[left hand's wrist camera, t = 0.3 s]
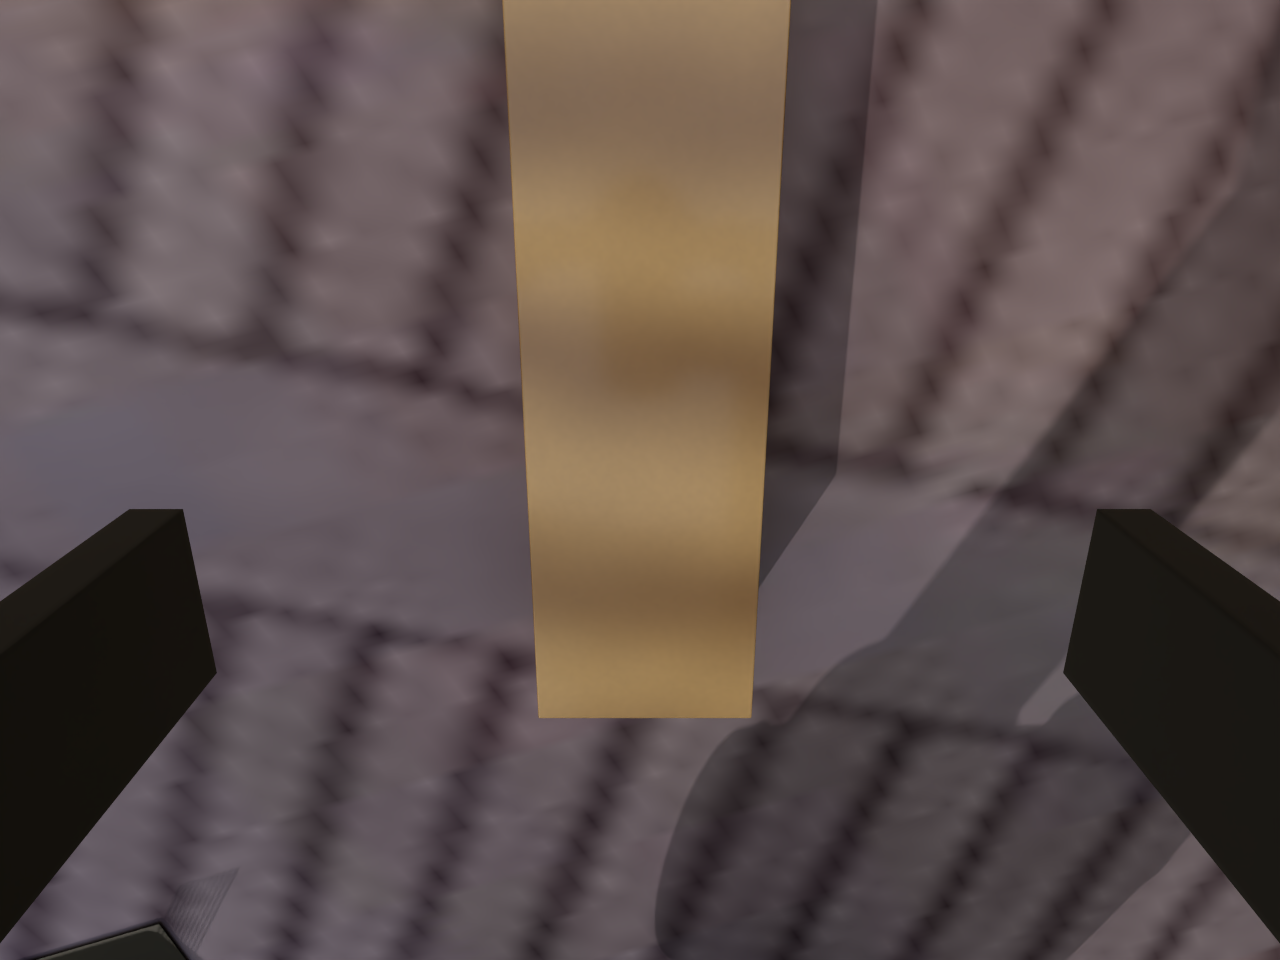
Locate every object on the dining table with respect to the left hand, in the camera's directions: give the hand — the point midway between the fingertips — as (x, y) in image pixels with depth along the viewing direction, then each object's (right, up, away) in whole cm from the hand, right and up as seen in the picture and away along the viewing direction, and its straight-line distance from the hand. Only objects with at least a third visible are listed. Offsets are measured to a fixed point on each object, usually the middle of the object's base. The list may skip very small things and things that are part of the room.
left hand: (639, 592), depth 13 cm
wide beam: (0, +26, +18) cm, 31 cm away
